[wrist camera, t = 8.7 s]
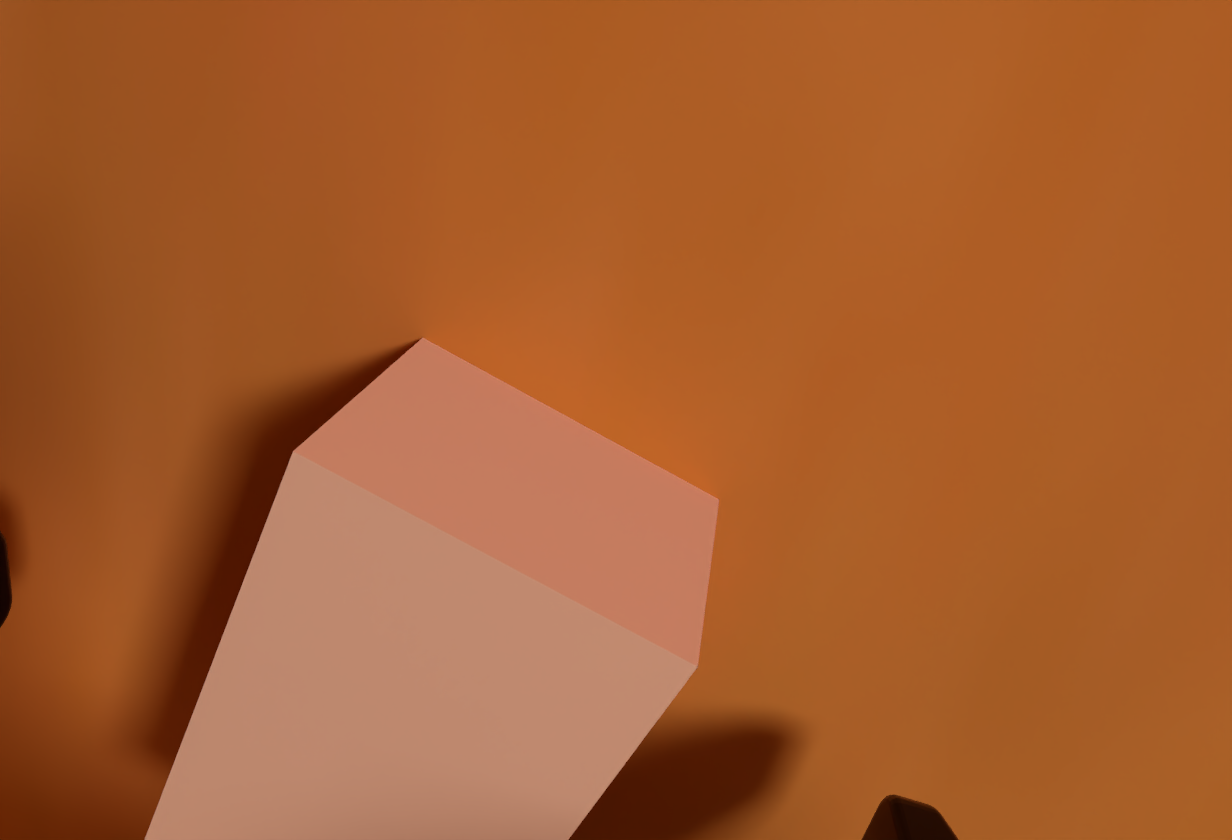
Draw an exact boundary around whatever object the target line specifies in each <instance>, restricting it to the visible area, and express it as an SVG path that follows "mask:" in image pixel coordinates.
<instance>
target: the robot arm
mask: <svg viewBox="0 0 1232 840" xmlns="http://www.w3.org/2000/svg"><path fill="white" fill-rule="evenodd" d="M11 604H12V589H11V580H10V570H9V561H8V551H7V543H6V539H5V537H4V536H3V534H2V533H1V531H0V627H1V626H2V625H3V623H4V621H5V620H6V618H7V616H8V614H9V611H10V609H11ZM862 840H958V838H957V837H956V835H955V834H954V832H953V831H952V829H951V828H950V827H949V825H948V824H947V822H946V821H945V819H944V818H943V816H942V815H941V814H940V813H939V812H938V811H937V810H936V809H935V808H934V807H932V806H930V805H928V804H925V803H921V802H918V801H915V800H911V799H908V798H905V797H901V796H898V795H889V796H886V797H885V798H884V799H883V800H882V801H881V803H880V804H879V806H878V808H877V810H876V812H875V814H874V816H873V818H872V820H871V822H870V824H869V826H868V828H867V830H866V832H865V834H864V836H863V838H862Z"/></svg>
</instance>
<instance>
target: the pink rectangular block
mask: <svg viewBox="0 0 1232 840" xmlns="http://www.w3.org/2000/svg"><path fill="white" fill-rule="evenodd" d="M718 504H719V499H717V498H715V497H713V496H712V495H710V494H708V493H706V492H704V491H702V490H701V489H699V488H697V487H695V486H693V485H691V484H690V483H688V482H686V481H684V480H682V479H680V478H679V477H677V476H675V475H673V474H671V473H669V472H668V471H666V470H664V469H662V468H660V467H658V466H657V465H655V464H653V463H651V462H649V461H648V460H646V459H644V458H642V457H640V456H638V455H637V454H635V453H633V452H631V451H629V450H627V449H626V448H624V447H622V446H620V445H618V444H616V443H615V442H613V441H611V440H609V439H607V438H605V437H604V436H602V435H600V434H598V433H596V432H594V431H593V430H591V429H589V428H587V427H585V426H583V425H582V424H580V423H578V422H576V421H574V420H572V419H571V418H569V417H567V416H565V415H563V414H561V413H560V412H558V411H556V410H554V409H552V408H551V407H549V406H547V405H545V404H543V403H541V402H540V401H538V400H536V399H534V398H532V397H530V396H529V395H527V394H525V393H523V392H521V391H519V390H518V389H516V388H514V387H512V386H510V385H508V384H507V383H505V382H503V381H501V380H499V379H497V378H496V377H494V376H492V375H490V374H488V373H486V372H485V371H483V370H481V369H479V368H477V367H475V366H474V365H472V364H470V363H468V362H466V361H464V360H463V359H461V358H459V357H457V356H455V355H454V354H452V353H450V352H448V351H446V350H444V349H443V348H441V347H439V346H437V345H435V344H433V343H432V342H430V341H428V340H426V339H424V338H422V339H421V340H419V341H418V342H417V343H416V344H415V345H414V346H413V347H411V348H410V349H409V350H408V351H407V352H406V353H405V354H403V355H402V356H401V357H400V358H399V359H398V360H397V361H395V362H394V363H393V364H392V365H391V366H390V367H389V368H387V369H386V370H385V371H384V372H383V373H382V374H381V375H379V376H378V377H377V378H376V379H375V380H374V381H373V382H371V383H370V384H369V385H368V386H367V387H366V388H365V389H363V390H362V391H361V392H360V393H359V394H358V395H357V396H355V397H354V398H353V399H352V400H351V401H350V402H349V403H348V404H346V405H345V406H344V407H343V408H342V409H341V410H340V411H338V412H337V413H336V414H335V415H334V416H333V417H332V418H330V419H329V420H328V421H327V422H326V423H325V424H324V425H322V426H321V427H320V428H319V429H318V430H317V431H316V432H314V433H313V434H312V435H311V436H310V437H309V438H308V439H306V440H305V441H304V442H303V443H302V444H301V445H300V446H298V447H297V448H296V449H295V450H294V451H293V453H292V455H291V458H290V461H289V463H288V466H287V468H286V471H285V474H284V476H283V479H282V482H281V484H280V487H279V489H278V492H277V495H276V497H275V500H274V502H273V505H272V508H271V510H270V513H269V515H268V518H267V521H266V523H265V526H264V529H263V531H262V534H261V536H260V539H259V542H258V544H257V547H256V549H255V552H254V555H253V557H252V560H251V563H250V565H249V568H248V570H247V573H246V576H245V578H244V581H243V583H242V586H241V589H240V591H239V594H238V597H237V599H236V602H235V604H234V607H233V610H232V612H231V615H230V617H229V620H228V623H227V625H226V628H225V630H224V633H223V636H222V638H221V641H220V644H219V646H218V649H217V651H216V654H215V657H214V659H213V662H212V664H211V667H210V670H209V672H208V675H207V678H206V680H205V683H204V685H203V688H202V691H201V693H200V696H199V698H198V701H197V704H196V706H195V709H194V711H193V714H192V717H191V719H190V722H189V725H188V727H187V730H186V732H185V735H184V738H183V740H182V743H181V745H180V748H179V751H178V753H177V756H176V759H175V761H174V764H173V766H172V769H171V772H170V774H169V777H168V779H167V782H166V785H165V787H164V790H163V793H162V795H161V798H160V800H159V803H158V806H157V808H156V811H155V813H154V816H153V819H152V821H151V824H150V826H149V829H148V832H147V834H146V837H145V840H568V839H569V838H570V837H571V835H572V834H573V833H574V831H575V830H576V829H577V827H578V826H579V825H580V823H581V822H582V821H583V819H584V818H585V817H586V815H587V814H588V813H589V811H590V810H591V809H592V807H593V806H594V805H595V803H596V802H597V801H598V799H599V798H600V797H601V795H602V794H603V793H604V791H605V790H606V789H607V787H608V786H609V785H610V783H611V782H612V781H613V779H614V778H615V777H616V775H617V774H618V773H619V771H620V770H621V769H622V767H623V766H624V764H625V763H626V762H627V760H628V759H629V758H630V756H631V755H632V754H633V752H634V751H635V750H636V748H637V747H638V746H639V744H640V743H641V742H642V740H643V739H644V738H645V736H646V735H647V734H648V732H649V731H650V730H651V728H652V727H653V726H654V724H655V723H656V722H657V720H658V719H659V718H660V716H661V715H662V714H663V712H664V711H665V710H666V708H667V707H668V706H669V704H670V703H671V702H672V700H673V699H674V698H675V696H676V695H677V694H678V692H679V691H680V690H681V688H682V687H683V686H684V684H685V683H686V682H687V680H688V679H689V678H690V676H691V675H692V674H693V672H694V671H695V670H696V668H697V667H698V660H699V652H700V644H701V637H702V629H703V621H704V613H705V606H706V598H707V590H708V582H709V574H710V567H711V559H712V551H713V543H714V536H715V528H716V520H717V512H718Z"/></svg>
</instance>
